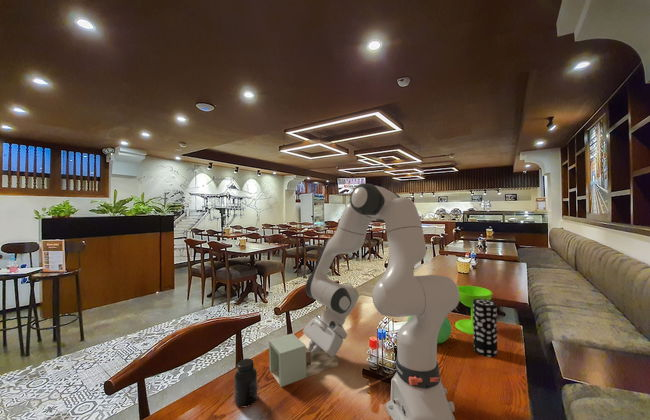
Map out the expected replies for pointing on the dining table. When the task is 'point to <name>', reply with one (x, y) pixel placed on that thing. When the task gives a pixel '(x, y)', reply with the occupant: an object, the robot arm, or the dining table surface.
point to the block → (308, 357)
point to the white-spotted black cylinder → (485, 327)
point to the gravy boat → (442, 330)
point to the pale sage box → (287, 358)
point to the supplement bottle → (245, 383)
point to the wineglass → (470, 304)
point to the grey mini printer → (316, 364)
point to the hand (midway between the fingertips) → (308, 355)
